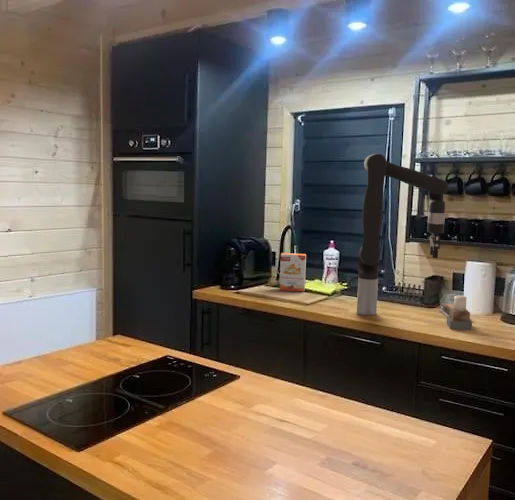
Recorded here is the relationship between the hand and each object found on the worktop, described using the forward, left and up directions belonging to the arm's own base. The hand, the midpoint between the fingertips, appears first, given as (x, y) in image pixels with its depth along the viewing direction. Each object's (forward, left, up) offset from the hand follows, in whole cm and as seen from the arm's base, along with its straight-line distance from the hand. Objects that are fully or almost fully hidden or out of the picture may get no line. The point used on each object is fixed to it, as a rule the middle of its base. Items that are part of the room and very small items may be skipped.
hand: (433, 256), depth 262 cm
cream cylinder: (+10, -19, -21) cm, 30 cm away
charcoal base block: (+10, -19, -29) cm, 36 cm away
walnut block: (+10, -19, -25) cm, 33 cm away
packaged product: (+11, 0, -29) cm, 31 cm away
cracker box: (-70, +37, -28) cm, 84 cm away
